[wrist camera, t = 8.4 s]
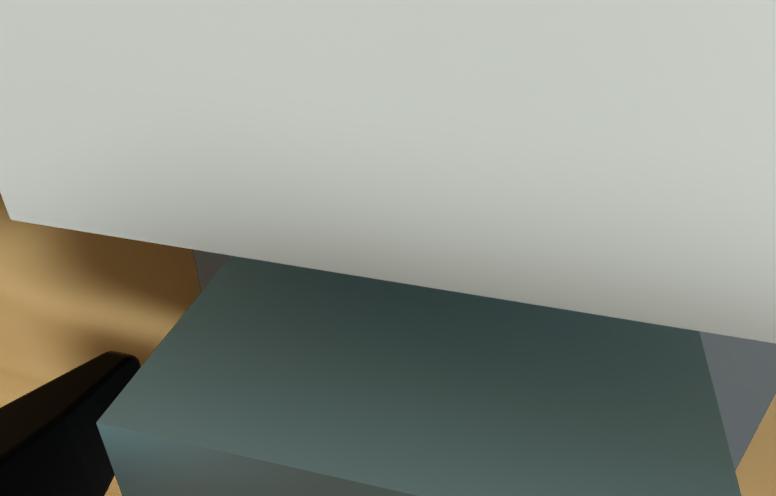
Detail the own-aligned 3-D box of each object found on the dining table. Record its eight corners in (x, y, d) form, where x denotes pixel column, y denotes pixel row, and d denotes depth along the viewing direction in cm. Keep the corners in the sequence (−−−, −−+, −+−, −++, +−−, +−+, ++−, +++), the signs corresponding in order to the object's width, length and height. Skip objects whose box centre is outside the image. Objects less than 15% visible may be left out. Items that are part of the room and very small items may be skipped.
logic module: (575, 486, 11) (577, 856, 7) (330, 434, 12) (209, 737, 8) (663, 192, 8) (761, 573, 4) (317, 149, 9) (95, 422, 5)
